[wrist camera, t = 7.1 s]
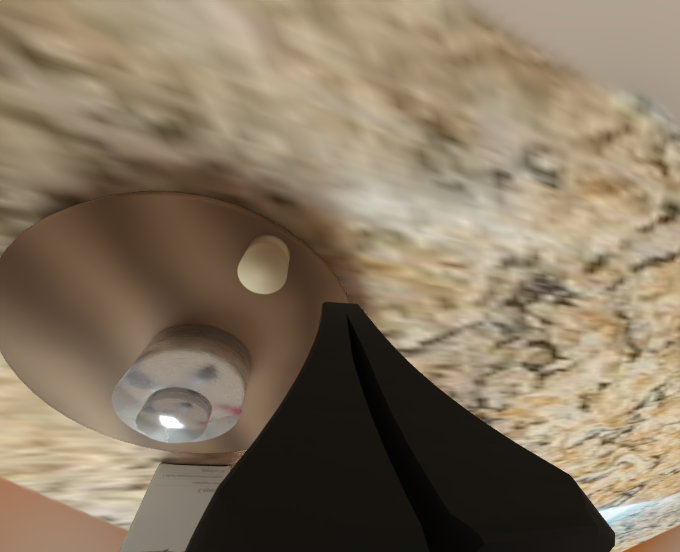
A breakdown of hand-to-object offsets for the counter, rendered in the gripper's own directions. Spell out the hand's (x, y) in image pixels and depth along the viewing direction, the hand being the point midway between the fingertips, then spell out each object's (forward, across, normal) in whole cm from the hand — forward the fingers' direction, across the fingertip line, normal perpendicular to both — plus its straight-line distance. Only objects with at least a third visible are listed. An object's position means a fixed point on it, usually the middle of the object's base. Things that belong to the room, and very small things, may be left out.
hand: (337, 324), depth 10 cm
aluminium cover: (+6, +8, +9) cm, 14 cm away
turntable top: (+8, +8, +9) cm, 15 cm away
